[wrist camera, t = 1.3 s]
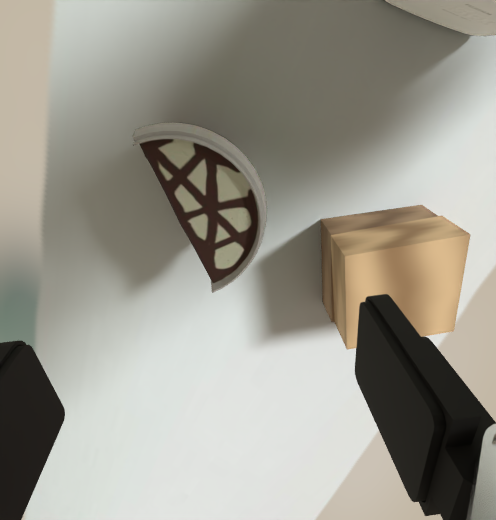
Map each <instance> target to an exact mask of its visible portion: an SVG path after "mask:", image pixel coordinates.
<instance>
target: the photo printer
mask: <svg viewBox="0 0 496 520" xmlns="http://www.w3.org/2000/svg"><path fill="white" fill-rule="evenodd" d="M385 1H386V2H388V3H390V4H392V5H394V6H396V7H398V8H400V9H403V10H405V11H407V12H409V13H412V14H414V15H416V16H419V17H421V18H424V19H426V20H429V21H431V22H434V23H436V24H439V25H442V26H444V27H447V28H450V29H453V30H456V31H459V32H462V33H465V34H469V35H474V36H491V35H496V0H385Z"/></svg>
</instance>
